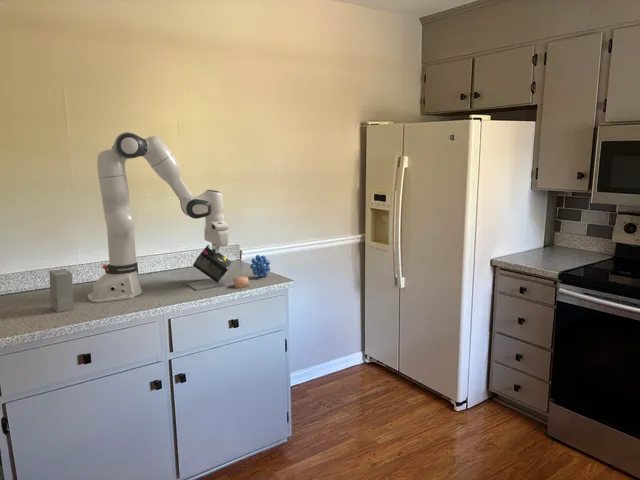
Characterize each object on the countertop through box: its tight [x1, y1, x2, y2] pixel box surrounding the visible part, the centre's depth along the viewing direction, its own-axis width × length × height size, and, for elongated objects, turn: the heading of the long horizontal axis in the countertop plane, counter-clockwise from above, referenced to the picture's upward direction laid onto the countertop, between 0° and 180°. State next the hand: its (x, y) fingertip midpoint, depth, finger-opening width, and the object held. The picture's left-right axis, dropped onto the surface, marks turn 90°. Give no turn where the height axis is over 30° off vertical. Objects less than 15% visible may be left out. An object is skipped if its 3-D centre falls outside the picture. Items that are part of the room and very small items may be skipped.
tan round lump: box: [233, 275, 250, 289], centre depth 230 cm, size 7×7×4 cm
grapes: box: [249, 254, 271, 278], centre depth 243 cm, size 12×7×12 cm, turn 130°
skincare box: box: [48, 268, 75, 313], centre depth 197 cm, size 8×7×16 cm
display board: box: [186, 278, 226, 291], centre depth 232 cm, size 14×13×1 cm
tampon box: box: [192, 244, 232, 283], centre depth 236 cm, size 11×9×15 cm
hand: (216, 252), depth 233 cm, fingers closed
